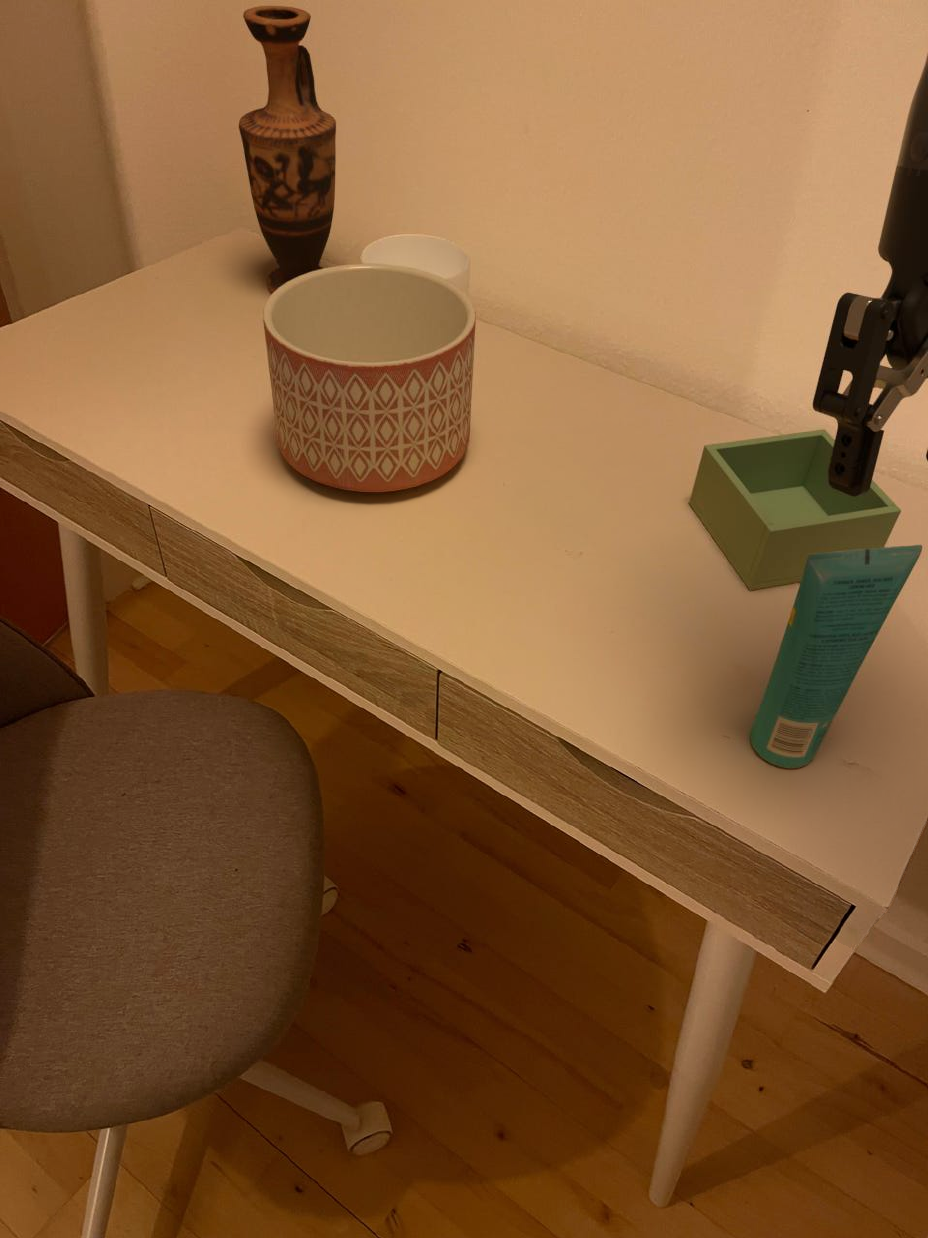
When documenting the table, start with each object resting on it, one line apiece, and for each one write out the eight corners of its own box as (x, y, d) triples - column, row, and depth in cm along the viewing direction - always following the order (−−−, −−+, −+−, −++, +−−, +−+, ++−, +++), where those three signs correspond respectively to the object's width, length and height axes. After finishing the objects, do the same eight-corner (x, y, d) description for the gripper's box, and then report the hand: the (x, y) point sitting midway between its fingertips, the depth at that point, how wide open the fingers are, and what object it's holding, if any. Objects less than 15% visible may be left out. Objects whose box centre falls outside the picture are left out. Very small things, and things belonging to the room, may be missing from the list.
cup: (470, 338, 112) (475, 238, 104) (459, 390, 104) (464, 286, 95) (373, 329, 113) (370, 229, 104) (354, 380, 104) (350, 276, 96)
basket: (874, 569, 85) (901, 510, 81) (749, 590, 83) (770, 531, 78) (803, 486, 94) (824, 428, 89) (688, 503, 91) (704, 444, 86)
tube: (809, 711, 73) (900, 518, 60) (841, 760, 70) (944, 569, 56) (721, 727, 72) (794, 533, 58) (750, 778, 68) (834, 586, 55)
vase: (308, 315, 114) (285, 32, 93) (240, 291, 118) (202, 13, 97) (361, 282, 121) (351, 11, 100) (294, 260, 125) (271, -6, 103)
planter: (241, 469, 92) (219, 329, 82) (340, 378, 105) (332, 247, 94) (415, 528, 87) (416, 387, 76) (498, 424, 99) (508, 291, 89)
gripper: (960, 171, 39) (869, 526, 47) (1141, 165, 46) (1033, 478, 54) (818, 158, 45) (758, 478, 53) (997, 154, 51) (919, 440, 59)
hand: (897, 478), depth 53 cm, fingers open, 8 cm apart
